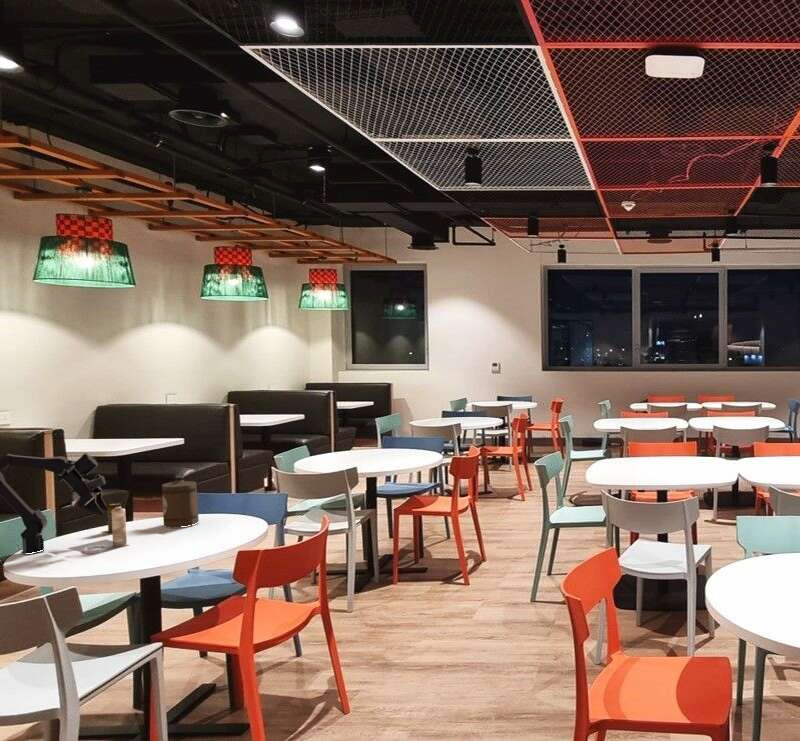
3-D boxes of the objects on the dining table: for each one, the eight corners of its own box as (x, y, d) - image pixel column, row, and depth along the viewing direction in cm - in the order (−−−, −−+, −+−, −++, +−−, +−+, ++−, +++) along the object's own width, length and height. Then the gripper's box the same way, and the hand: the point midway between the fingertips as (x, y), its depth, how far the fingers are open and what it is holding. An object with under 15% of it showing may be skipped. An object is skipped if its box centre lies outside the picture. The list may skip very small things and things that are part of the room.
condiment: (126, 532, 314) (124, 504, 314) (105, 535, 310) (103, 506, 309) (122, 529, 320) (120, 501, 320) (101, 532, 316) (100, 504, 315)
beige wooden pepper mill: (117, 548, 283) (115, 509, 283) (110, 546, 286) (108, 507, 286) (129, 545, 287) (127, 506, 287) (122, 543, 290) (120, 505, 290)
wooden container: (170, 521, 333) (168, 472, 332) (203, 520, 332) (201, 471, 332) (158, 529, 318) (156, 478, 318) (192, 528, 317) (190, 477, 317)
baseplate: (91, 556, 274) (91, 551, 274) (67, 550, 286) (67, 545, 286) (130, 547, 287) (130, 542, 287) (105, 541, 298) (105, 536, 298)
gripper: (88, 472, 279) (117, 502, 282) (98, 465, 298) (125, 494, 300) (64, 492, 278) (93, 522, 280) (76, 484, 296) (103, 512, 298)
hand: (104, 512), depth 290 cm, fingers open, 9 cm apart
